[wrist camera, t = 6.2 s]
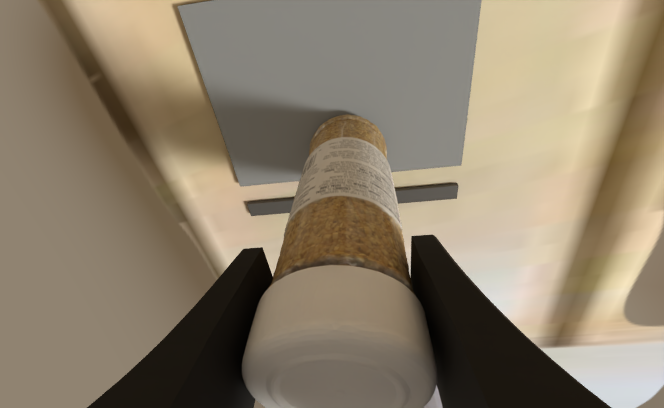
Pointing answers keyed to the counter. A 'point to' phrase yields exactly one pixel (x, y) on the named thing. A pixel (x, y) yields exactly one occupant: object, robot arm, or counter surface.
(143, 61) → the counter surface
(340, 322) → the sprinkles bottle
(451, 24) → the mat
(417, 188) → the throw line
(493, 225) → the counter surface
